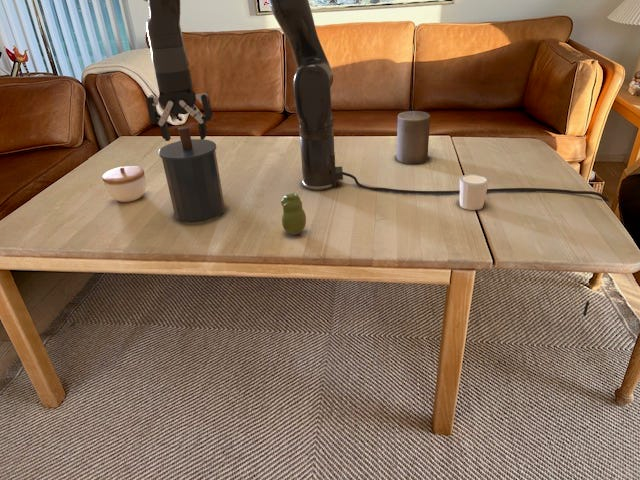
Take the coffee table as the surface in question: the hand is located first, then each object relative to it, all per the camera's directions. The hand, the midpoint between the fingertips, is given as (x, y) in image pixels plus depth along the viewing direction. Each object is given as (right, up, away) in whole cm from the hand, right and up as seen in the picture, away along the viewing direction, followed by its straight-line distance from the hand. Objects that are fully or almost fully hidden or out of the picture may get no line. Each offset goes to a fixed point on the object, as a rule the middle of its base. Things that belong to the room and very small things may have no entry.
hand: (185, 139), depth 114 cm
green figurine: (+26, -23, -2) cm, 34 cm away
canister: (+1, -17, +10) cm, 20 cm away
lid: (0, -2, +2) cm, 3 cm away
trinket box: (-21, -13, +20) cm, 32 cm away
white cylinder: (+70, -15, +6) cm, 72 cm away
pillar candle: (+61, +1, +36) cm, 70 cm away
